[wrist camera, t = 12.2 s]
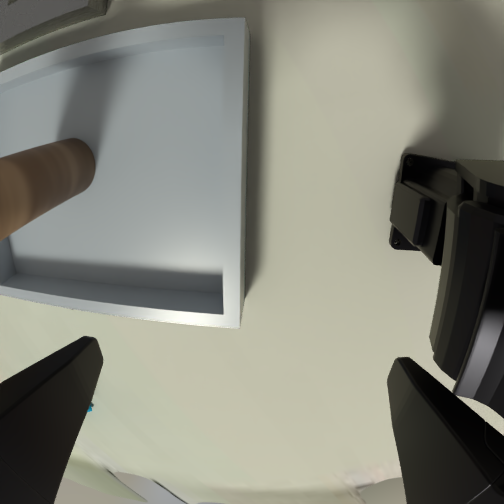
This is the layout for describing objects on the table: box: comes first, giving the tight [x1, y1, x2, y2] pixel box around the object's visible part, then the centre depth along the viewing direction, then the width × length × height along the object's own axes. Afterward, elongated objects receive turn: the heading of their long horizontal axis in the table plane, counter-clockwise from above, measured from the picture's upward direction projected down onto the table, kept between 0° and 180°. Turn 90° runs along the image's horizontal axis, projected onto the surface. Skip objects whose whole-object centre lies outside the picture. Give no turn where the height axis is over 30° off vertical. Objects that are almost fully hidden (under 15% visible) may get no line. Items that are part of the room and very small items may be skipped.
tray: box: [0, 18, 250, 329], centre depth 18 cm, size 22×18×4 cm
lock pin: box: [0, 138, 95, 241], centre depth 12 cm, size 4×4×14 cm
